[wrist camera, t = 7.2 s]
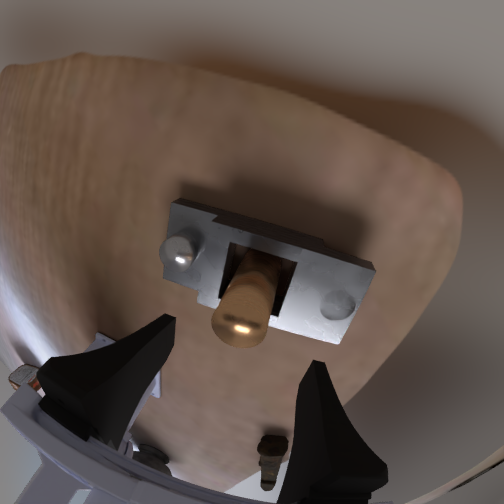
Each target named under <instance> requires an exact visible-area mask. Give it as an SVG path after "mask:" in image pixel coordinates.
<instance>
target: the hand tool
mask: <svg viewBox="0 0 504 504" xmlns="http://www.w3.org/2000/svg"><path fill="white" fill-rule="evenodd" d="M288 443H289V441H288V440H287V438H286V437H284V436H276V435H265V436H263V437H262V438H261V442H260V443H259V444H258V447H257V451H258V453H259V454H260V455H261V457H260V461H259V466H261V488H262V489H263V490H264V491H270V490H272V489H273V488H274V486H275V484H276V479H277V475H278V472H279V468H280V465H281V461H282V457H283V456H284V455H285V453H286V451H287V449H288Z"/></svg>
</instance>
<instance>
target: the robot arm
mask: <svg viewBox="0 0 504 504" xmlns="http://www.w3.org/2000/svg"><path fill="white" fill-rule="evenodd" d="M175 324H176V317H173V316H170V315H168V314H163V315H162V316H160V317H159V318H157V319H156V320H154V321H153V322H151V323H149V324H148V325H146V326H145V327H143V328H141V329H140V330H138V331H136V332H134V333H133V334H131V335H129V336H127V337H125V338H123V339H121V340H119V341H117V342H116V341H114V340H112V339H110V338H108V337H106V336H104V335H102V334H100V333H96V334H95V336H96V339H95V340H94V341H93V343H92V344H91V345H90V346H89V347H88V348H87V349H86V350H85V351H84V352H83V353H80V354H75V355H69V356H59V357H51V358H50V359H49V360H48V361H46V363H45V364H44V365H43V366H42V367H41V368H40V369H39V370H38V371H37V372H36V377H37V379H38V382H39V383H40V385H41V387H42V389H43V391H44V392H45V394H46V395H45V396H44V397H43V398H42V397H41V396H40V394H39V393H37V392H36V391H35V390H34V389H33V388H32V387H31V386H29V385H28V384H27V383H26V382H24V383H23V384H22V385H21V386H20V387H19V388H18V389H17V390H16V392H15V393H14V394H13V395H12V396H11V397H10V398H9V400H8V401H7V402H6V403H5V404H4V405H3V406H2V408H1V409H0V411H1V413H2V414H3V415H4V416H5V418H6V419H7V420H8V421H9V422H10V423H11V424H12V426H13V427H14V428H15V429H16V430H17V431H18V432H19V433H20V434H21V435H22V436H23V437H24V438H25V439H26V440H27V441H28V442H30V443H31V444H32V445H33V446H34V447H35V448H36V449H37V450H38V453H39V456H40V458H41V460H42V464H41V466H40V467H39V468H38V470H37V471H36V473H35V474H34V475H33V477H32V478H31V480H30V481H29V483H28V484H27V485H26V487H25V488H24V490H23V491H22V493H21V494H20V496H19V497H18V499H17V500H16V502H15V503H14V504H69V502H70V501H71V499H72V498H73V496H74V495H75V493H76V492H77V491H78V490H91V492H90V493H89V495H88V497H87V499H86V500H85V502H84V504H368V500H369V499H371V492H373V491H375V490H377V489H379V488H381V487H383V486H384V485H386V483H387V482H388V468H387V465H386V463H384V462H383V461H382V460H381V459H380V458H379V457H378V456H377V455H376V454H375V453H374V452H373V451H372V450H371V449H370V448H369V447H368V446H367V444H366V443H365V442H364V441H363V439H362V438H361V437H360V435H359V434H358V433H357V431H356V430H355V428H354V427H353V425H352V424H351V422H350V420H349V419H348V417H347V415H346V413H345V411H344V409H343V407H342V405H341V403H340V401H339V399H338V396H337V394H336V391H335V389H334V387H333V384H332V381H331V379H330V376H329V373H328V370H327V367H326V365H325V363H324V362H320V361H316V360H313V361H312V363H311V365H310V367H309V368H308V370H307V372H306V373H305V375H304V377H303V379H302V380H301V382H300V384H299V389H298V394H297V399H296V411H295V426H294V438H293V445H292V450H291V454H290V459H289V463H288V467H287V471H286V475H285V478H284V482H283V485H282V489H281V491H280V495H279V497H278V500H277V503H269V502H263V501H258V500H252V499H247V498H242V497H238V496H233V495H230V494H226V493H222V492H218V491H214V490H211V489H208V488H204V487H201V486H198V485H195V484H192V483H189V482H186V481H183V480H180V479H178V478H175V477H172V476H170V475H167V474H165V473H162V472H160V471H157V470H155V469H153V468H150V467H148V466H146V465H144V464H142V463H140V462H137V461H135V460H133V459H132V457H133V445H132V443H131V442H130V441H129V439H130V437H131V436H132V434H130V433H129V432H128V431H129V430H130V428H131V426H132V424H133V423H134V421H135V419H136V418H137V416H138V414H139V413H140V411H141V409H142V408H143V406H144V404H145V403H146V401H147V399H148V397H149V396H150V395H152V396H154V397H157V398H160V396H161V390H160V369H161V367H162V366H163V365H164V363H165V362H166V360H167V358H168V356H169V354H170V352H171V350H172V348H173V346H174V338H175ZM127 472H128V473H127ZM129 473H130V474H132V475H134V476H136V477H138V478H140V479H142V480H141V481H140V480H137V479H135V478H133V477H130V474H129ZM371 504H393V502H392V501H389V502H379V503H371Z"/></svg>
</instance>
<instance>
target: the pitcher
mask: <svg viewBox="0 0 504 504" xmlns="http://www.w3.org/2000/svg"><path fill="white" fill-rule="evenodd" d="M138 449H139V451H133V457H132V459H133V460H135V461H137V462H140V463H142V464H144V465H146V466H148V467H150V468H153V469H155V470H157V471H160V472H162V473H165V474H167V475H170V476H172V474H171V471H170V469H169V468H168V467H167V466H166V465H165V464H168V463H169V458H168V457H167V456H166V455H165V454H163V453H162V452H160V451H159V450H157V449H155V448H153V447H150V446H147V445H144V444H143V445H139V447H138ZM127 473H128V472H127ZM129 474H130V473H129ZM130 477H133V478H135V479H137V480H140V481H141V480H142V479H140V478H138V477H136V476H134V475H132V474H130Z"/></svg>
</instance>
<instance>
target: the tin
mask: <svg viewBox="0 0 504 504" xmlns="http://www.w3.org/2000/svg"><path fill="white" fill-rule="evenodd" d="M38 370H39V368H37V367H34V366H32V365H29V364H24V365H22V366H20V367H18V369H16V370H15V371H14V372H13V373H11V374H10V376H9V382H10V383H11V385H12V386H13V388H14V389H15V390H17V389H18V388H19V387H20V386H21V385H22V384H23V383H24V382H26V383H27V384H28V385H29V386H31V387H32V388H33V389H34V390H35V391H36V392H37V391H38V390H39V389H40V388H41V385H40V383H39V382H38V379H37V377H36V372H37V371H38Z"/></svg>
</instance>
